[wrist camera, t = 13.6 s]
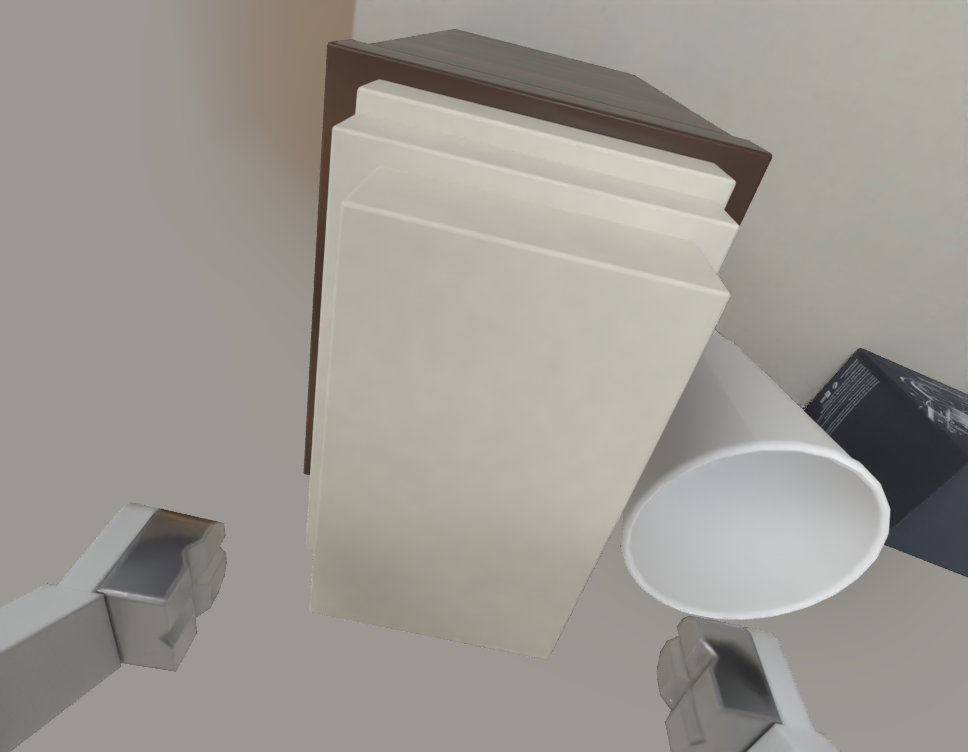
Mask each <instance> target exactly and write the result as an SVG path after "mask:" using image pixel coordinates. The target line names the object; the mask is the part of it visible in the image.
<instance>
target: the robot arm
mask: <svg viewBox="0 0 968 752" xmlns="http://www.w3.org/2000/svg"><path fill="white" fill-rule="evenodd" d="M224 538H225V528H224V523H221V522H217V521H213V520H208V519H204V518H199V517H195V516H191V515H186V514H182V513H177V512H173V511H168V510H164V509H160V508H155V507H150V506H146V505H141V504H136V503H130V504H128V505H126V506H125V507H123V508H122V509H120V510H119V512H118V513H117V514H116V515H115V517H114V518H113V519H112V520H111V521H110V522H109V523H108V525H107V526H106V527H105V528H104V529H103V531H102V532H101V533H100V534H99V535H98V537H97V538H96V539H95V540H94V541H93V543H92V544H91V545H90V546H89V547H88V549H87V550H86V551H85V552H84V553H83V555H82V556H81V557H80V558H79V559H78V561H77V562H76V563H75V564H74V566H73V567H72V568H71V569H70V570H69V571H68V573H67V574H66V575H65V576H64V577H63V579H62V580H61V581H60V582H59V583H58V585H54V584H48V583H47V584H45V585H43V586H42V587H39V588H38V589H36V590H34V591H32V592H30V593H28V594H26V595H24V596H22V597H20V598H18V599H16V600H14V601H12V602H10V603H8V604H7V605H5V606H3V607H1V608H0V752H10V751H12V750H13V749H14V748H15V747H17V746H18V745H20V744H21V743H22V742H23V741H25V740H26V739H27V738H29V737H30V736H31V735H32V734H34V733H35V732H37V731H38V730H39V729H40V728H41V727H43V726H44V725H46V724H47V723H48V722H50V721H51V720H52V719H53V718H55V717H56V716H57V715H59V714H60V713H61V712H63V711H64V710H65V709H66V708H68V707H69V706H70V705H72V704H73V703H74V702H76V701H77V700H78V699H79V698H81V697H82V696H83V695H85V694H86V693H87V692H89V691H90V690H91V689H93V688H94V687H95V686H97V685H98V684H99V683H100V682H102V681H103V680H104V679H106V678H107V677H108V676H109V675H111V674H112V673H114V672H115V671H116V670H117V669H118V668H120V667H121V663H125V664H130V665H137V666H143V667H150V668H156V669H163V670H169V671H175V672H176V671H177V669H178V667H179V665H180V663H181V662H182V660H183V658H184V656H185V654H186V652H187V651H188V649H189V647H190V645H191V643H192V641H193V640H194V637H195V636H196V634H197V627H196V617H198V616H199V615H201V614H202V613H204V612H205V611H207V610H208V609H210V608H211V606H212V604H213V602H214V600H215V598H216V597H217V595H218V593H219V590H220V587H221V584H222V581H223V578H224V576H225V570H226V564H227V559H226V552H225V551H224V550H223V549H222V548H221V547H220V545H221V543H222V541H223V539H224ZM677 630H678V634H679V636H677V637H675V638H673V639H670V640H668V641H667V642H666V643H665V645H664V647H663V648H662V650H661V651H660V656H659V661H658V666H657V677H658V679H657V680H658V686H659V692H660V696H661V697H662V699H663V700H664V701H665V703H666V704H667V705H668V707H669V708H670V709H671V711H670V714H669V716H668V717H667V719H666V721H665V724H666V729H667V735H668V739H669V745H670V750H671V752H840V751H839V750H838V749H837V747H835V745H834V744H833V743H832V742H831V741H830V740H829V738H828V737H827V736H826V735H825V734H824V733H821V732H818V731H815V730H814V728H813V725H812V722H811V720H810V717H809V715H808V712H807V710H806V707H805V705H804V702H803V700H802V697H801V695H800V692H799V690H798V687H797V685H796V682H795V680H794V677H793V675H792V672H791V670H790V667H789V665H788V662H787V660H786V657H785V655H784V652H783V650H782V647H781V645H780V642H779V640H778V639H777V637H776V636H775V635H774V634H773V633H772V632H768V631H763V630H758V629H753V628H748V627H742V626H741V625H736V624H731V623H726V622H720V621H715V620H709V619H704V618H699V617H693V616H687V617H685V618H683V619H682V620H681V622H680V623H679V624H678V626H677Z"/></svg>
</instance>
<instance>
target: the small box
mask: <svg viewBox="0 0 968 752" xmlns="http://www.w3.org/2000/svg"><path fill="white" fill-rule="evenodd" d="M804 412H805V413H806V414H807V415H808V416H809V417H810V418H811V419H813V420H814V421H815V422H816V423H817V424H818V425H819V426H820V427H821V428H822V429H823V430H824V431H825V432H826V433H827V434H828V435H829V436H830V437H831V438H832V439H833V440H834V441H835V442H836V443H837V444H838V445H839V446H840V447H841V448H842V449H843V450H844V451H845V452H846V453H847V454H848V455H849V456H850V457H851V458H853V459H855V460H857V461H859V462H860V463H861V464H862V465H863V466H864V467H865V468H866V469H867V470H868V471H869V472H870V473H871V474H872V475H873V476H874V477H875V478H876V479H877V480H878V481H879V482H880V484H881V486H882V489H883V491H884V494H885V496H886V499H887V502H888V504H889V507H890V522H889V534H888V537H887V539H886V541H885V543H884V545H886V546H889V547H892V548H894V549H897V550H899V551H902V552H904V553H907V554H909V555H912V556H915V557H917V558H920V559H922V560H925V561H927V562H930V563H933V564H935V565H938V566H940V567H943V568H945V569H948V570H950V571H953V572H956V573H958V574H961V575H963V576H966V577H968V395H967V394H965V393H963V392H961V391H958V390H956V389H954V388H951V387H949V386H947V385H944V384H942V383H940V382H937V381H935V380H933V379H931V378H928V377H926V376H924V375H922V374H919V373H917V372H915V371H912V370H910V369H908V368H905V367H903V366H901V365H898V364H896V363H894V362H892V361H890V360H887V359H885V358H882V357H880V356H878V355H876V354H874V353H871V352H869V351H867V350H864V349H859V350H858V351H857V352H856V353H855V354H854V355H853V356H852V357H851V358H850V359H849V361H848V362H847V363H846V364H845V365H844V366H843V367H842V368H841V369H840V371H839V372H838V373H837V374H836V375H835V376H834V377H833V378H832V379H831V381H830V382H829V383H828V384H827V385H826V386H825V387H824V389H823V390H822V391H821V392H820V393H819V394H818V395H817V397H816V398H815V399H814V400H813V401H812V402H811V403H810V405H809V406H808V407H807V408H806V409H805V410H804Z"/></svg>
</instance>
